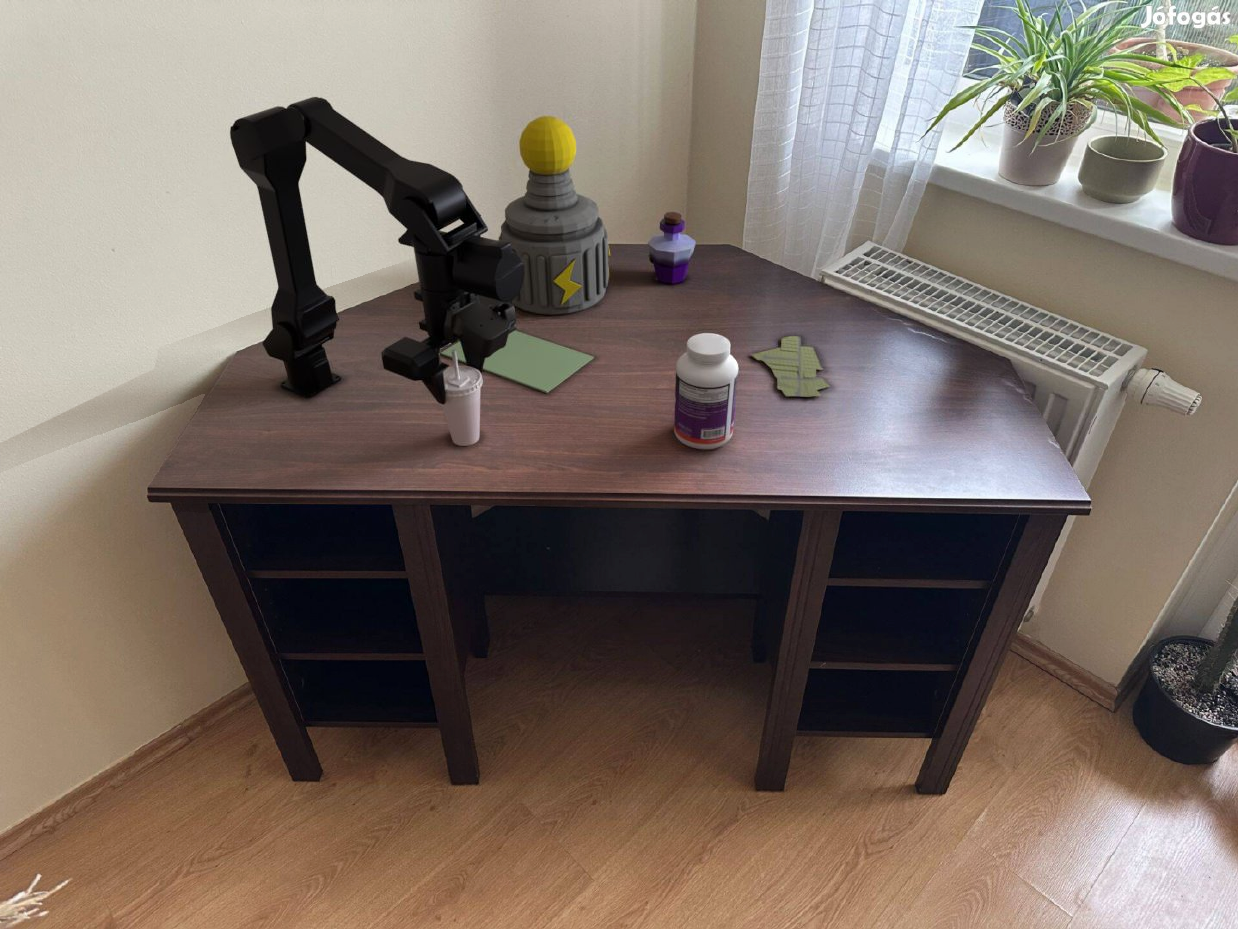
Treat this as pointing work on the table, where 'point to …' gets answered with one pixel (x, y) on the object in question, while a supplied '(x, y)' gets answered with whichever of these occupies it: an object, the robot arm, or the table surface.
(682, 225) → the potion bottle
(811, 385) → the olive flat irregular sheet
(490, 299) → the robot arm
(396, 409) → the table surface
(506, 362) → the green cloth
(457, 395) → the smoothie
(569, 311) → the decorative lamp
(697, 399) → the pill bottle
